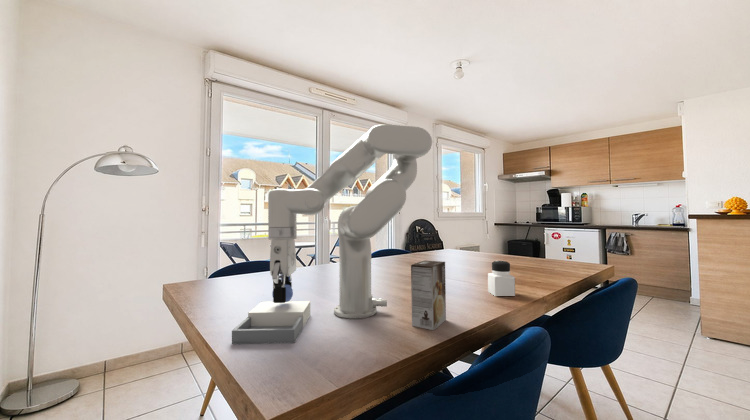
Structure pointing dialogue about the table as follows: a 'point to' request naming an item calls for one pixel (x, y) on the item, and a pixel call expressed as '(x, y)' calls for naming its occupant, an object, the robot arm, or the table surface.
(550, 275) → the table surface
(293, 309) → the white box lid
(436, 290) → the coffee box
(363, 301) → the robot arm
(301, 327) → the box
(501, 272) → the medicine bottle
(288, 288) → the decorative dice
